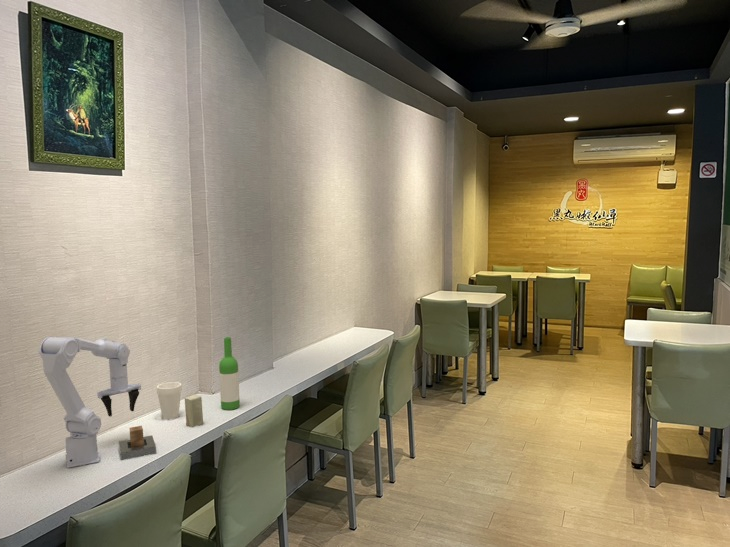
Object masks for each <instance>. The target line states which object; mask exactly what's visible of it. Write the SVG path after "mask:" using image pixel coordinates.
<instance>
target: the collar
mask: <svg viewBox="0 0 730 547" xmlns="http://www.w3.org/2000/svg"><path fill="white" fill-rule="evenodd" d="M143 439H144V446H140V447H134V448H131V444H130V438H129V439H125V440H119V441H118V448H119V453H120V460H121V461H123V460H128V459H132V458H133V459H134V458H140V457H144V455H145V456H150V455H154V454H157V446H156V443H155V439H154V437H153V435H146V436H143ZM149 454H150V455H149Z"/></svg>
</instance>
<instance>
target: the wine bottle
mask: <svg viewBox="0 0 730 547" xmlns="http://www.w3.org/2000/svg"><path fill="white" fill-rule="evenodd" d="M223 351H224V357H223V358H221V360H220V362H219V365H218V366H219V390H220V392H219V394H220V407H221V409H223V410H226V411H227V410H228V411H230V410H231V411H232V410H236V409H237V408H239V407H240V404H241V402H240V381H239V379H240V378H239V364H238V360H237V359H236V358H235V357H234V356H233V353H232V352H233V351H232V338H231V337H223Z"/></svg>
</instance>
